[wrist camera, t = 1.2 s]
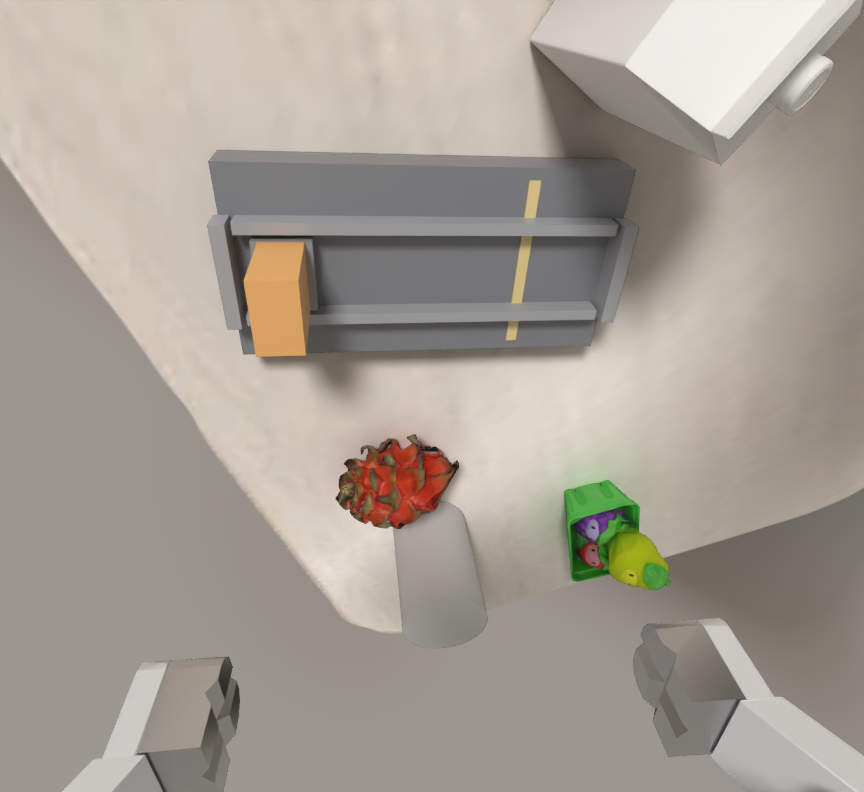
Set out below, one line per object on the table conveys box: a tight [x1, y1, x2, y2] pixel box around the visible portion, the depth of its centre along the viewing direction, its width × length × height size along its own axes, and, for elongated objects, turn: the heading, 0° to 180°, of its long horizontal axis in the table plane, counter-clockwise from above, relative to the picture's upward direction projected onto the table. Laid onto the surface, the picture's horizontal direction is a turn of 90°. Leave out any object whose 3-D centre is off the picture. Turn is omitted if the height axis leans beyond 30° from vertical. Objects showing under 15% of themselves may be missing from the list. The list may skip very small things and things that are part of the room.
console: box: [207, 150, 639, 354], centre depth 40 cm, size 14×29×5 cm, turn 87°
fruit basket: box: [565, 480, 671, 590], centre depth 59 cm, size 11×9×11 cm
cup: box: [393, 501, 488, 648], centre depth 56 cm, size 8×8×12 cm
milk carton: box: [530, 0, 863, 165], centre depth 27 cm, size 7×7×19 cm
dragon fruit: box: [336, 434, 459, 529], centre depth 52 cm, size 8×8×12 cm
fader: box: [244, 235, 318, 357], centre depth 35 cm, size 5×4×7 cm
